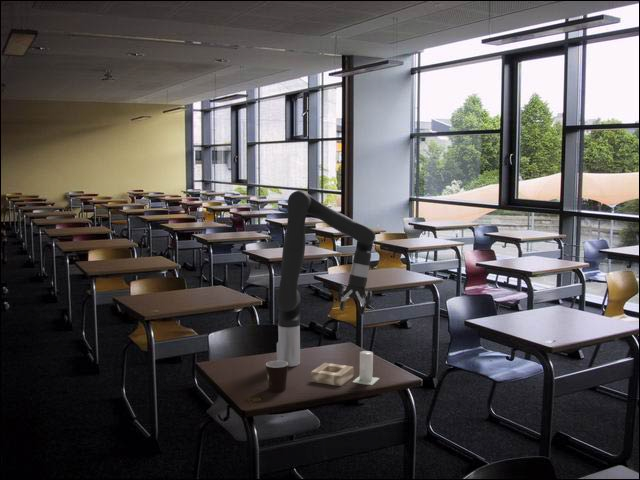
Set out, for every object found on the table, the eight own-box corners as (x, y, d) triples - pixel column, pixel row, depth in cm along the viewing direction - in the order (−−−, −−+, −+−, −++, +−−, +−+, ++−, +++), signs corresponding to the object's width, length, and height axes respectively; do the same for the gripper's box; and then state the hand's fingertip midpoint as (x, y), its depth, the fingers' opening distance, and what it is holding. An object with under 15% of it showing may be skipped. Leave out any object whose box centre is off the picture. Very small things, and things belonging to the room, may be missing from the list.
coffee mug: (285, 393, 242) (285, 368, 241) (263, 392, 244) (262, 366, 243) (292, 383, 254) (292, 358, 252) (271, 382, 255) (271, 357, 254)
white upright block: (355, 382, 253) (355, 355, 252) (362, 376, 260) (362, 350, 258) (367, 384, 251) (368, 357, 249) (374, 378, 257) (375, 352, 256)
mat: (352, 382, 254) (352, 381, 254) (360, 375, 262) (360, 375, 262) (372, 385, 251) (372, 384, 251) (379, 378, 258) (379, 378, 258)
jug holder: (311, 381, 255) (311, 371, 255) (324, 371, 267) (324, 362, 266) (340, 386, 250) (340, 376, 250) (353, 376, 262) (353, 366, 261)
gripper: (340, 271, 267) (332, 309, 268) (371, 278, 262) (364, 317, 262) (346, 271, 274) (339, 308, 275) (377, 278, 269) (370, 316, 269)
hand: (351, 312), depth 268 cm, fingers open, 8 cm apart
